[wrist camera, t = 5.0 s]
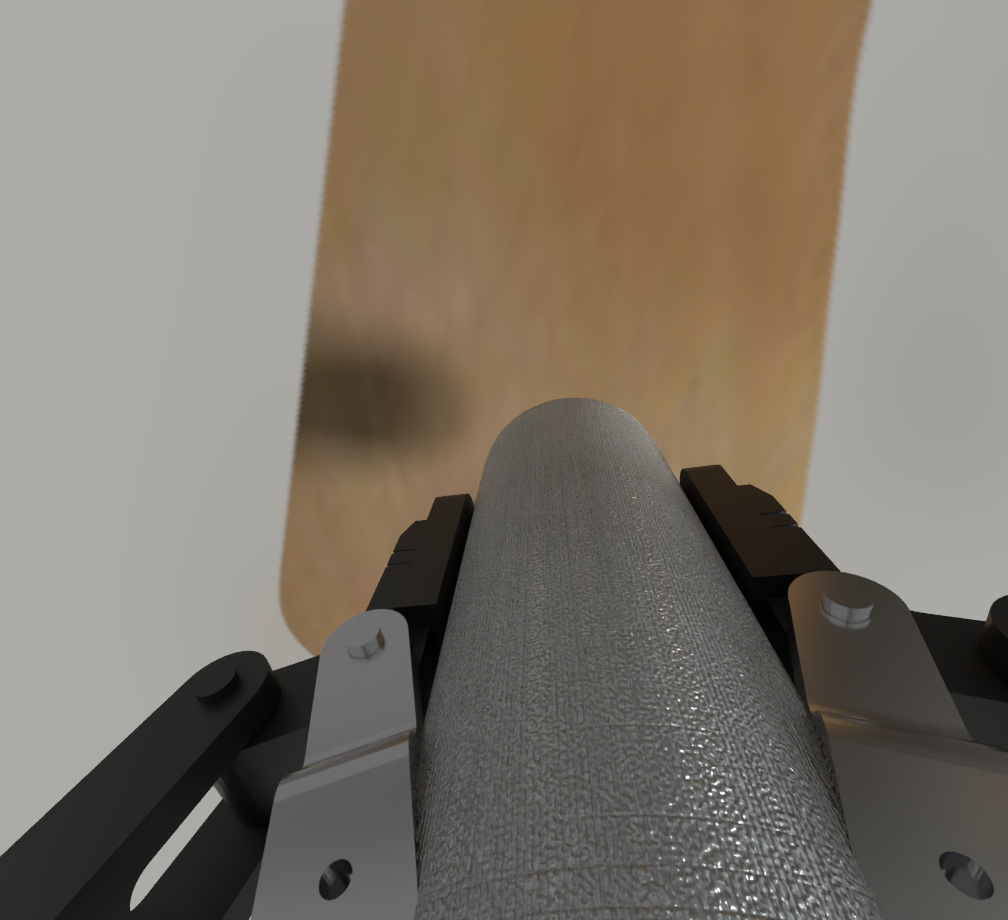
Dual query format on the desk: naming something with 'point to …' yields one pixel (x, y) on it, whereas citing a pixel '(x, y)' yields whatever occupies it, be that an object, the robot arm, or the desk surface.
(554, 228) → the desk surface
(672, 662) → the planter
